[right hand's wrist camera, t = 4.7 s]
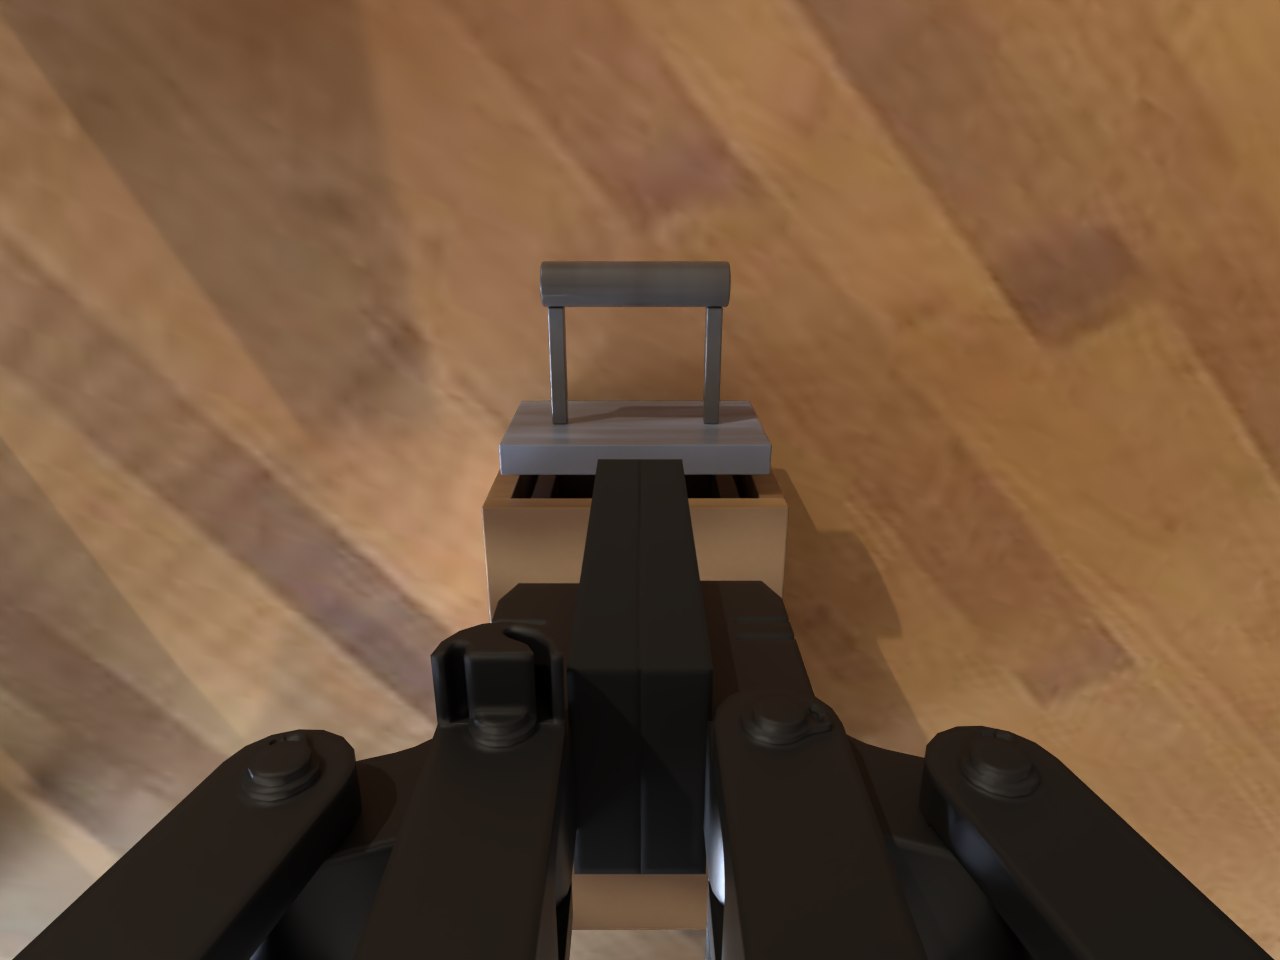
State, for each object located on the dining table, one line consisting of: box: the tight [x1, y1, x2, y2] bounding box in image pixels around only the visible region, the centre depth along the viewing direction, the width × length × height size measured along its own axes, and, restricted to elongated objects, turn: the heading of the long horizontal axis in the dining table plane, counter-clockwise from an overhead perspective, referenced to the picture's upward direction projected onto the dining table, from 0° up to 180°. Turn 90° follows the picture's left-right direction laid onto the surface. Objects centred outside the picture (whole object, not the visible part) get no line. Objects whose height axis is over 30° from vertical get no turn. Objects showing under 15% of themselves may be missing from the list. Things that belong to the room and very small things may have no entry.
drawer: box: [499, 262, 772, 499], centre depth 35 cm, size 26×10×6 cm, turn 0°
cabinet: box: [482, 467, 789, 930], centre depth 37 cm, size 21×11×8 cm, turn 0°
